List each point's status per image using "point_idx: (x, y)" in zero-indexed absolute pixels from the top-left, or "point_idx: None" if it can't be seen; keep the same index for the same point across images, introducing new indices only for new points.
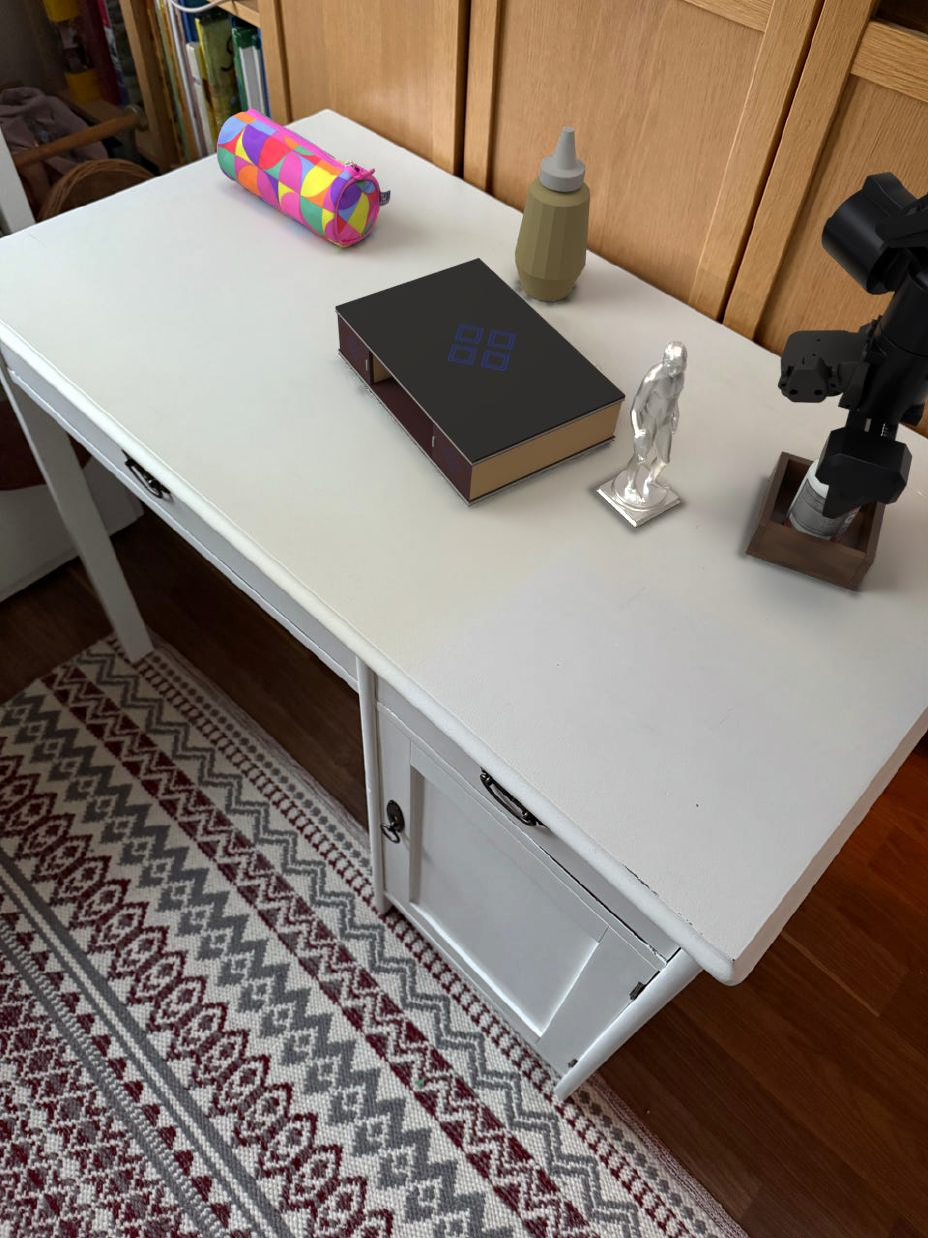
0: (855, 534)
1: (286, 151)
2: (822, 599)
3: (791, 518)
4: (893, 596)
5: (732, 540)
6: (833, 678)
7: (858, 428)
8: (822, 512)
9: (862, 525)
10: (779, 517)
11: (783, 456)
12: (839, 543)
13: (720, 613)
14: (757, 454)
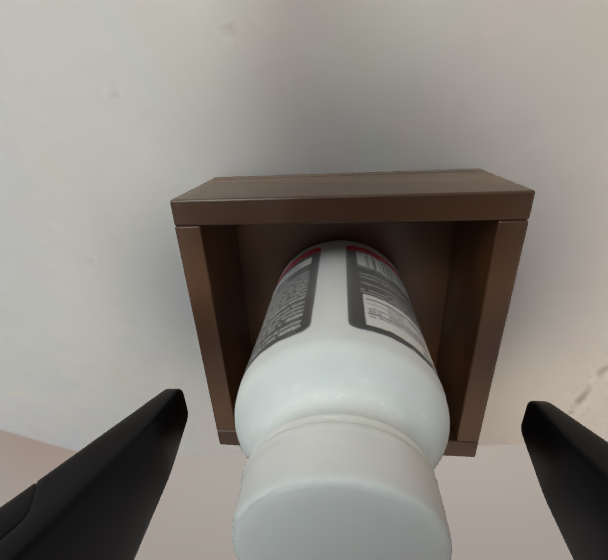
0: None
1: None
2: (196, 336)
3: (299, 265)
4: None
5: (236, 138)
6: (64, 369)
7: (586, 519)
8: (155, 397)
9: None
10: (347, 226)
11: (505, 201)
12: None
13: (35, 173)
14: (591, 110)
